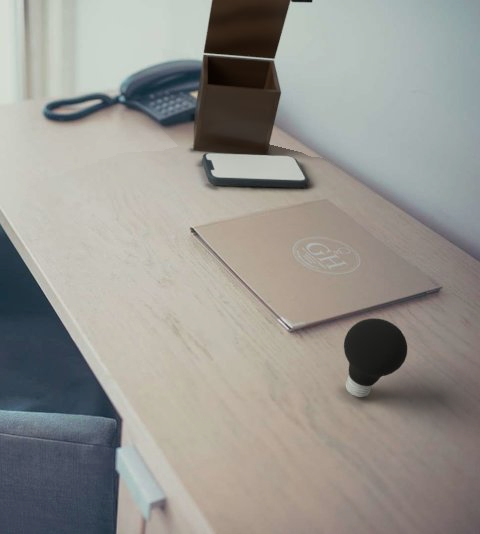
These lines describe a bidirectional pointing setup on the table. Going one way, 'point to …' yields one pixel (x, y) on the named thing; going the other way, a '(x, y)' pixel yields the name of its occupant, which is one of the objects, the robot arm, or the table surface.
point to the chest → (236, 105)
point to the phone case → (253, 170)
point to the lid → (245, 27)
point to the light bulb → (372, 353)
